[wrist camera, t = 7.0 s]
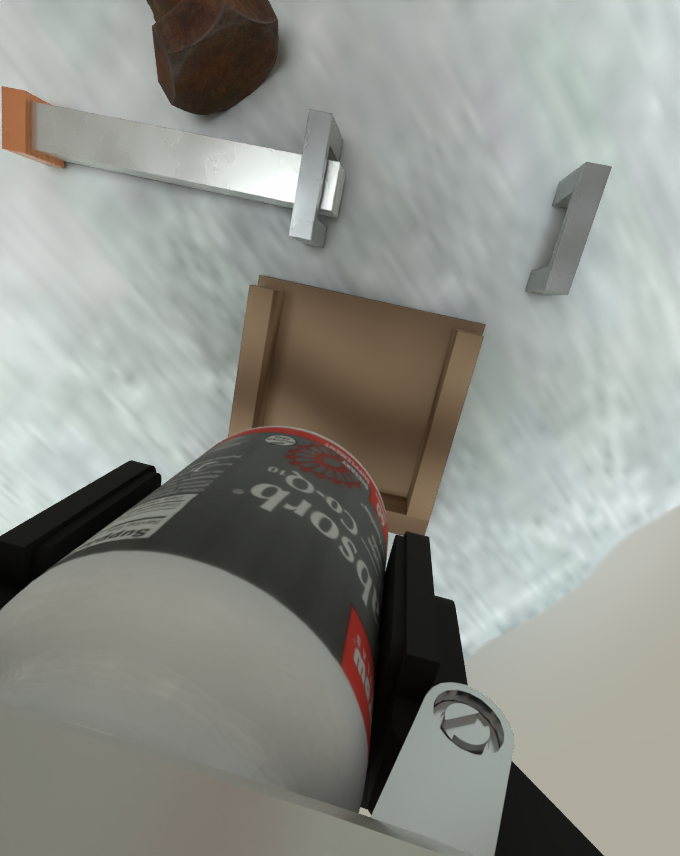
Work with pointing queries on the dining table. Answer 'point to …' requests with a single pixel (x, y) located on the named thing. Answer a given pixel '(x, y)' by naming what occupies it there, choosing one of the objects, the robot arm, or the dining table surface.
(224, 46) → the bolt
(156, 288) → the dining table surface
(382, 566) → the pill bottle
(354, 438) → the dock
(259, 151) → the pin
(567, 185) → the pin lugs
